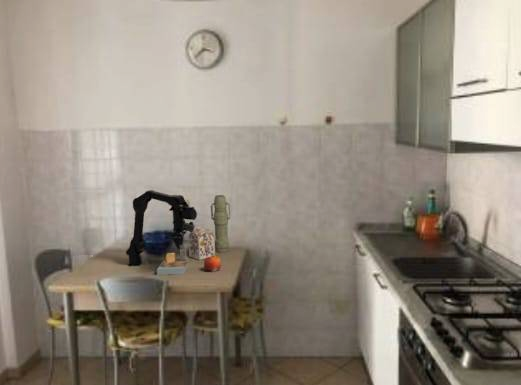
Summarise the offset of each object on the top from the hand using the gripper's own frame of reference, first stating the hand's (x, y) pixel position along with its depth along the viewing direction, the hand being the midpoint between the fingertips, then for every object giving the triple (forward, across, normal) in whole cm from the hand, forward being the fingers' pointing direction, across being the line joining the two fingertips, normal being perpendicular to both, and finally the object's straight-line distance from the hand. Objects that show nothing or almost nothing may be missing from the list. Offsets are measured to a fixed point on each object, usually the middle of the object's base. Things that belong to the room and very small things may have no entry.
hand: (179, 247), depth 268 cm
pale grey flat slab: (+13, 0, +4) cm, 14 cm away
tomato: (+13, -2, -18) cm, 22 cm away
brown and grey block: (+10, 0, +3) cm, 10 cm away
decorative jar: (+13, +27, -8) cm, 31 cm away
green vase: (+13, +40, -20) cm, 46 cm away
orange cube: (+8, 0, +5) cm, 9 cm away
